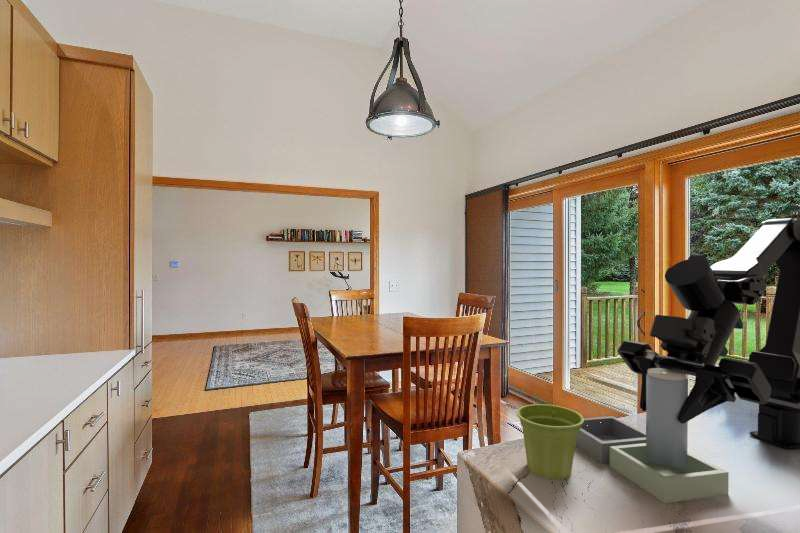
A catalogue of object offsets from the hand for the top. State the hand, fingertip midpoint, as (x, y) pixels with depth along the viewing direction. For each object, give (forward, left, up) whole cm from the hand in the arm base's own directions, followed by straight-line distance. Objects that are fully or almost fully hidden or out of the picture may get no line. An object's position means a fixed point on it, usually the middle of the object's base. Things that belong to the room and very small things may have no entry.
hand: (660, 415), depth 60 cm
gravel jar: (-1, 0, -7) cm, 7 cm away
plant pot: (+13, -7, -10) cm, 18 cm away
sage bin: (-1, 0, -10) cm, 10 cm away
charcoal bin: (-1, -12, -10) cm, 15 cm away
